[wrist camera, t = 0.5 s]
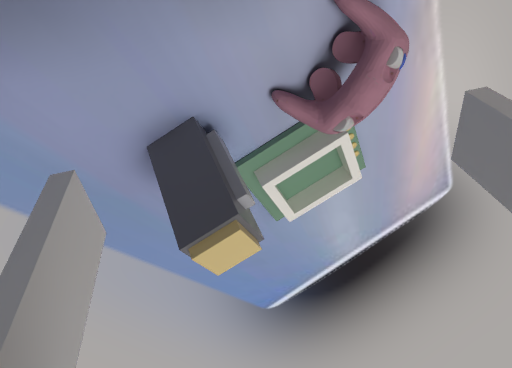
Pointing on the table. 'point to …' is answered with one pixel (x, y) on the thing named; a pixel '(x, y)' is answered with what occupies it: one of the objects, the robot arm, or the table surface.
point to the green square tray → (301, 169)
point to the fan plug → (205, 197)
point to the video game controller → (362, 77)
